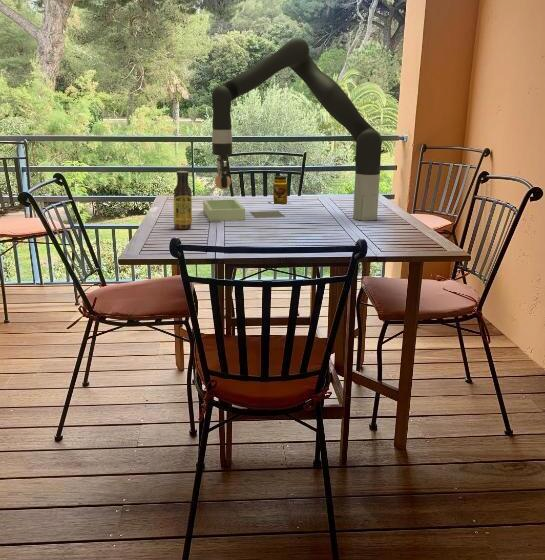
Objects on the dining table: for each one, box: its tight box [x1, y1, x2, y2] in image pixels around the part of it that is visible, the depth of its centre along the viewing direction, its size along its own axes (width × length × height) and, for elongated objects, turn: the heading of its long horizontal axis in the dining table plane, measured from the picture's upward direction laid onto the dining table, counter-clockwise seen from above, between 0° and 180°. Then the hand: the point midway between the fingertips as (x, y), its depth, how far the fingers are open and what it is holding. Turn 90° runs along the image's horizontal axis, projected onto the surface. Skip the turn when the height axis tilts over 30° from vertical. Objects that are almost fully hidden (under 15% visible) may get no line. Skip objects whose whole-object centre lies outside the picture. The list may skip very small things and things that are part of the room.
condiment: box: [272, 175, 291, 205], centre depth 252 cm, size 7×8×12 cm
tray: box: [202, 198, 246, 223], centre depth 225 cm, size 22×13×4 cm, turn 13°
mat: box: [249, 210, 286, 219], centre depth 228 cm, size 12×12×1 cm
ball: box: [214, 174, 232, 190], centre depth 222 cm, size 6×6×6 cm
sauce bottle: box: [173, 170, 193, 230], centre depth 202 cm, size 6×6×20 cm
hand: (223, 186), depth 223 cm, fingers closed on ball, 6 cm apart
